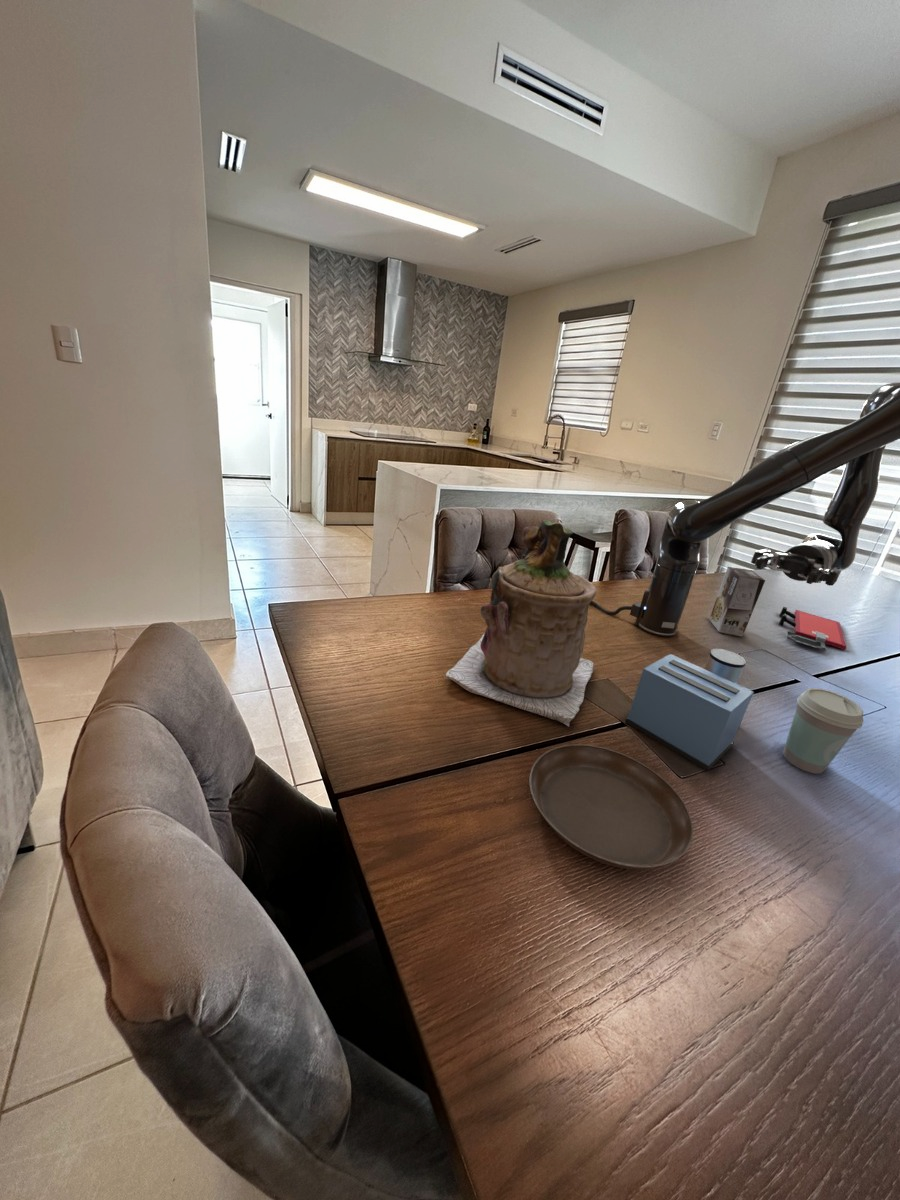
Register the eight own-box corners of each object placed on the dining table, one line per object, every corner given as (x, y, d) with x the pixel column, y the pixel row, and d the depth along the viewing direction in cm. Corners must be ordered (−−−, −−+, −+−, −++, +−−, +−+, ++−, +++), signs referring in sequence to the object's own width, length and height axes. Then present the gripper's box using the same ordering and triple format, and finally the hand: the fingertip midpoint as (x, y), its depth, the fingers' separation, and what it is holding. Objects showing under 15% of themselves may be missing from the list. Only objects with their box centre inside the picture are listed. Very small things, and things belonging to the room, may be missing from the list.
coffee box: (743, 637, 124) (766, 580, 118) (718, 632, 125) (739, 576, 119) (732, 623, 133) (752, 569, 126) (708, 619, 133) (727, 565, 127)
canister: (684, 708, 89) (705, 653, 84) (697, 699, 93) (717, 645, 88) (716, 725, 85) (739, 668, 81) (728, 714, 89) (750, 659, 84)
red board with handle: (777, 639, 125) (846, 661, 117) (782, 629, 124) (851, 651, 116) (779, 609, 148) (837, 626, 141) (783, 601, 147) (841, 618, 140)
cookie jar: (595, 669, 99) (635, 520, 87) (572, 732, 78) (620, 549, 66) (486, 635, 108) (509, 496, 96) (439, 684, 87) (461, 514, 75)
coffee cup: (817, 786, 73) (851, 723, 68) (763, 750, 80) (790, 691, 75) (844, 772, 77) (878, 711, 72) (790, 739, 84) (818, 682, 79)
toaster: (624, 721, 83) (641, 667, 79) (655, 701, 90) (672, 650, 86) (707, 771, 73) (732, 712, 69) (734, 744, 81) (758, 689, 76)
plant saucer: (522, 749, 73) (526, 732, 72) (657, 771, 72) (663, 754, 71) (529, 869, 54) (534, 849, 53) (712, 902, 53) (722, 881, 52)
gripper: (776, 534, 103) (751, 541, 93) (856, 553, 93) (837, 563, 83) (763, 566, 106) (737, 577, 95) (840, 588, 96) (820, 602, 86)
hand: (784, 570), depth 89 cm, fingers open, 8 cm apart
